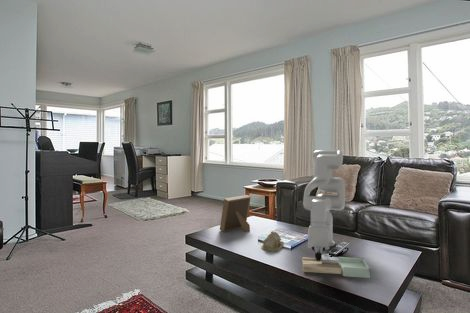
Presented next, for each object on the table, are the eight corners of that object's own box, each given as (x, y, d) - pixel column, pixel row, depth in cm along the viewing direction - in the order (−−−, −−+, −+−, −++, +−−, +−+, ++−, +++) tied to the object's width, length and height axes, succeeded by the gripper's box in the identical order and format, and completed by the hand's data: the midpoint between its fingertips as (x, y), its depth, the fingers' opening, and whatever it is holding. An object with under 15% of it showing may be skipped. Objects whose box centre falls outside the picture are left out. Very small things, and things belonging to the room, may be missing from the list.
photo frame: (219, 230, 204) (219, 197, 202) (241, 225, 218) (242, 193, 216) (232, 236, 192) (232, 200, 191) (255, 229, 206) (255, 196, 205)
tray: (338, 265, 145) (338, 256, 144) (362, 266, 143) (363, 258, 142) (343, 276, 133) (343, 266, 133) (370, 278, 131) (370, 268, 131)
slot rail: (302, 264, 146) (302, 257, 146) (338, 266, 143) (338, 259, 143) (303, 271, 138) (303, 263, 138) (341, 274, 135) (341, 266, 135)
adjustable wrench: (343, 249, 167) (343, 247, 167) (352, 253, 162) (353, 250, 162) (314, 258, 154) (314, 255, 154) (323, 263, 149) (323, 259, 148)
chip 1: (321, 261, 142) (321, 256, 142) (329, 262, 141) (329, 256, 141) (322, 265, 138) (322, 259, 138) (330, 265, 137) (330, 260, 137)
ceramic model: (272, 253, 161) (272, 236, 161) (258, 248, 169) (257, 232, 169) (286, 247, 171) (286, 231, 171) (272, 242, 179) (272, 227, 179)
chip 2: (329, 262, 141) (329, 256, 141) (337, 262, 141) (337, 257, 140) (330, 265, 137) (330, 259, 137) (338, 266, 137) (338, 260, 137)
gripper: (332, 222, 142) (332, 258, 142) (302, 221, 144) (302, 256, 145) (335, 226, 134) (335, 264, 135) (303, 225, 137) (303, 262, 138)
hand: (318, 259), depth 140 cm, fingers closed
